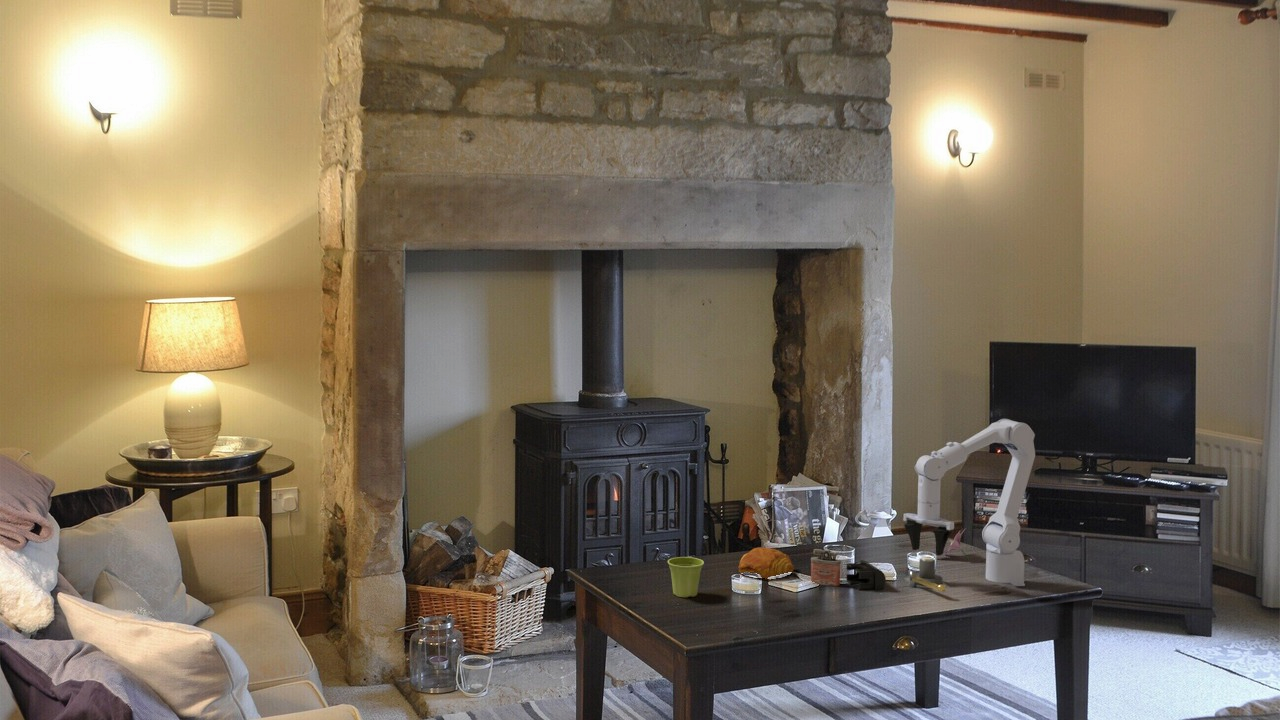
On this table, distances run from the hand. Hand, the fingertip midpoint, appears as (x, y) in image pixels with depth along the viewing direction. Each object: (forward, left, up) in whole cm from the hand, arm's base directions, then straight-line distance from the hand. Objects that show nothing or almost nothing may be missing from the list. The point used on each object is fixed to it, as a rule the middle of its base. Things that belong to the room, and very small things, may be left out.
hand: (927, 552), depth 298 cm
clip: (+3, +9, -8) cm, 13 cm away
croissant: (+40, -17, -10) cm, 45 cm away
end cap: (+17, +1, -10) cm, 20 cm away
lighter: (+27, -2, -10) cm, 29 cm away
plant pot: (+65, +2, -10) cm, 66 cm away
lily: (-19, -29, -10) cm, 36 cm away
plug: (0, 0, -8) cm, 8 cm away
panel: (-1, +2, -9) cm, 10 cm away
